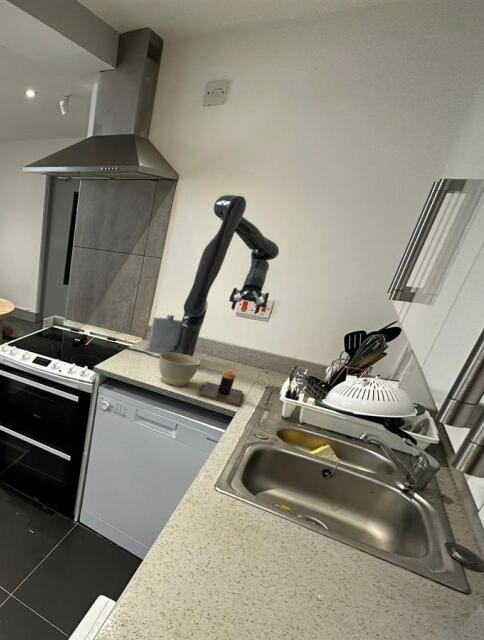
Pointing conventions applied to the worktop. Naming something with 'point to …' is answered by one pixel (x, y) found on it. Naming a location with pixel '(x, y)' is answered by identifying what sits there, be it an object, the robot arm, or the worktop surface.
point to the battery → (226, 382)
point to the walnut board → (212, 393)
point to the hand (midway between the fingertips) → (244, 311)
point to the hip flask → (163, 334)
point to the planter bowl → (177, 368)
